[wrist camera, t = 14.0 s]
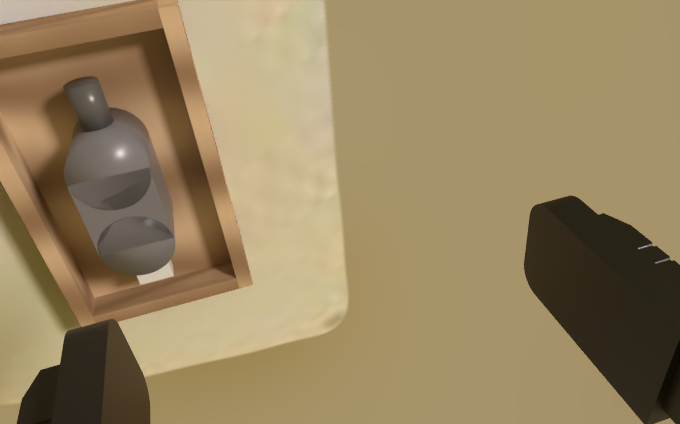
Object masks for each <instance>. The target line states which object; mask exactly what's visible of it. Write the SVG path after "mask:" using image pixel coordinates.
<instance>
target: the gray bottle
mask: <svg viewBox="0 0 680 424" xmlns="http://www.w3.org/2000/svg"><path fill="white" fill-rule="evenodd" d="M63 89H64V91H65V93H66V96H67V98H68V100H69V103H70V105H71V108H72V110H73V112H74V115H75V117H76V120H77V123H76V125H75V127H74V130H73V134H72V138H71V143H70V147H69V151H68V155H67V159H66V163H65V168H64V179H65V183H66V185H67V188H68V190H69V192H70V194H71V196H72V198H73V200H74V203H75V205H76V207H77V209H78V211H79V213H80V215H81V218H82V220H83V222H84V224H85V226H86V228H87V230H88V233H89V235H90V237H91V239H92V241H93V243H94V246H95V248H96V250H97V252H98V254H99V256H100V258H101V260H102V261H103V262H104V263H105V264H106V265H107V266H108V267H109V268H111V269H112V270H114V271H116V272H119V273H122V274H126V275H136V276H137V278H138V280H139V283H140V285H142V284H146V283H149V282H153V281H157V280H161V279H165V278H169V277H173V276H174V272H173V264H172V262H171V258H172V257H173V254H174V252H175V232H174V219H173V205H172V200H171V197H170V194H169V191H168V188H167V185H166V182H165V179H164V176H163V173H162V170H161V167H160V165H159V162H158V159H157V156H156V153H155V150H154V147H153V144H152V141H151V138H150V135H149V132H148V130H147V128H146V126H145V125H144V124H143V122H142V121H141V120H140V119H139V118H138V117H136V116H135V115H133V114H132V113H130V112H128V111H126V110H123V109H119V108H112V107H109V106H108V103H107V101H106V98H105V95H104V93H103V90H102V87H101V85H100V82H99V79H98V78H97V77H94V76H87V77H81V78H77V79H74V80H72V81H69V82H68V83H66V84H65V85H64V86H63Z"/></svg>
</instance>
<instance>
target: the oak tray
mask: <svg viewBox="0 0 680 424" xmlns="http://www.w3.org/2000/svg"><path fill="white" fill-rule="evenodd" d="M87 76H94V77H97V78H98V79H99V82H100V85H101V87H102V90H103V93H104V95H105V98H106V101H107V103H108V106H109V107H112V108H119V109H123V110H126V111H128V112H130V113H132V114H133V115H135V116H136V117H138V118H139V119H140V120H141V121H142V122H143V124H144V125H145V126H146V128H147V130H148V132H149V135H150V138H151V141H152V144H153V147H154V150H155V153H156V156H157V159H158V162H159V165H160V167H161V170H162V173H163V176H164V179H165V182H166V185H167V188H168V191H169V194H170V197H171V200H172V205H173V219H174V232H175V252H174V254H173V257H172V258H171V262H172V264H173V272H174V276H173V277H169V278H165V279H161V280H157V281H153V282H149V283H146V284H142V285H140V283H139V280H138V278H137V276H136V275H126V274H122V273H119V272H116V271H114V270H112V269H111V268H109V267H108V266H107V265H106V264H105V263H104V262H103V261H102V260H101V258H100V256H99V254H98V252H97V250H96V248H95V246H94V243H93V241H92V239H91V237H90V235H89V233H88V230H87V228H86V226H85V224H84V222H83V220H82V218H81V215H80V213H79V211H78V209H77V207H76V205H75V203H74V200H73V198H72V196H71V194H70V192H69V190H68V188H67V185H66V183H65V179H64V168H65V163H66V159H67V155H68V151H69V147H70V143H71V138H72V134H73V130H74V127H75V125H76V123H77V120H76V117H75V115H74V112H73V110H72V108H71V105H70V103H69V100H68V98H67V96H66V93H65V91H64V89H63V86H64V85H65V84H66V83H68V82H69V81H72V80H74V79H77V78H81V77H87ZM0 181H1V183H2V185H3V187H4V188H5V190H6V192H7V194H8V196H9V198H10V199H11V201H12V203H13V205H14V207H15V208H16V210H17V212H18V214H19V216H20V217H21V219H22V221H23V223H24V225H25V226H26V228H27V230H28V232H29V234H30V235H31V237H32V239H33V241H34V243H35V244H36V246H37V248H38V250H39V252H40V253H41V255H42V257H43V259H44V261H45V262H46V264H47V266H48V268H49V270H50V272H51V273H52V275H53V277H54V279H55V281H56V282H57V284H58V286H59V288H60V290H61V291H62V293H63V295H64V297H65V299H66V300H67V302H68V304H69V306H70V308H71V309H72V311H73V313H74V315H75V317H76V318H77V320H78V322H79V324H80V326H81V327H83V326H87V325H91V324H94V323H98V322H102V321H105V320H109V319H115V320H116V321H117V322H118V321H122V320H126V319H129V318H133V317H137V316H140V315H144V314H148V313H151V312H155V311H159V310H162V309H166V308H170V307H173V306H177V305H180V304H184V303H188V302H191V301H195V300H199V299H202V298H206V297H210V296H213V295H217V294H221V293H224V292H228V291H232V290H235V289H239V288H243V287H246V286H250V285H253V283H252V279H251V275H250V270H249V266H248V262H247V258H246V255H245V251H244V247H243V244H242V240H241V236H240V232H239V229H238V225H237V221H236V218H235V214H234V210H233V206H232V203H231V199H230V195H229V192H228V188H227V184H226V180H225V177H224V173H223V169H222V166H221V162H220V158H219V154H218V151H217V147H216V143H215V140H214V136H213V132H212V128H211V125H210V121H209V117H208V114H207V110H206V106H205V102H204V99H203V95H202V91H201V88H200V84H199V80H198V76H197V73H196V69H195V65H194V62H193V58H192V54H191V50H190V47H189V43H188V39H187V36H186V32H185V28H184V24H183V21H182V17H181V13H180V10H179V6H178V2H177V0H136V1H131V2H125V3H120V4H114V5H108V6H103V7H97V8H92V9H86V10H81V11H75V12H69V13H64V14H58V15H53V16H47V17H42V18H36V19H30V20H25V21H19V22H14V23H8V24H3V25H0Z"/></svg>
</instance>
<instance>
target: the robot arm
mask: <svg viewBox="0 0 680 424" xmlns="http://www.w3.org/2000/svg"><path fill="white" fill-rule="evenodd" d="M524 270H525V275H526V278H527V281H528V284H529V286H530V288H531V289H532V291H533V292H534V294H535V295H536V296H537V297H538V299H539V300H540V301H541V302H542V303H543V305H544V306H545V307H546V308H547V309H548V310H549V312H550V313H551V314H552V315H553V316H554V317H555V319H556V320H557V321H558V322H559V324H560V325H561V326H562V327H563V328H564V329H565V331H566V332H567V333H568V334H569V335H570V337H571V338H572V339H573V340H574V341H575V342H576V344H577V345H578V346H579V347H580V348H581V350H582V351H583V352H584V353H585V354H586V355H587V357H588V358H589V359H590V360H591V361H592V363H593V364H594V365H595V366H596V367H597V368H598V370H599V371H600V372H601V373H602V374H603V376H605V378H606V379H607V381H608V382H609V383H610V384H611V385H612V386H613V387H614V389H615V390H616V391H617V392H618V394H619V395H620V396H621V397H622V398H623V399H624V401H626V403H627V404H628V405H629V407H630V408H631V409H632V410H633V411H634V412H635V414H636V415H637V416H638V417H639V418H640V420H641V421H642V422H643V423H644V424H654V423H657V422H660V421H662V420H665V419H668V418H671V419H672V420H673V421H674V422H675V423H676V424H680V265H679V264H678V263H677V262H676V261H671V260H670V258H669V256H668V255H667V254H666V253H664V252H663V251H662V250H661V249H659V248H658V247H657V246H655V247H654V246H653V245H652V242H651V241H650V240H648V239H647V238H645V236H643V235H642V234H641V233H640V232H639V231H637V230H636V229H635V228H633V227H632V226H631V225H629V224H627V223H624V222H622V221H619V220H618V219H615V218H613V217H611V216H608V215H606V214H604V213H603V214H600V215H598V214H597V213H595V212H594V211H593V210H592V209H591V208H589V207H588V206H587V205H586V204H585V203H584V202H582V201H581V200H580V199H579V198H577V197H575V196H567V197H563V198H559V199H556V200H552V201H548V202H545V203H541V204H537V205H535V206H534V207H533V208H532V210H531V213H530V219H529V227H528V235H527V243H526V252H525V261H524ZM17 424H150V401H149V395H148V389H147V385H146V382H145V378H144V375H143V373H142V371H141V369H140V367H139V365H138V363H137V361H136V359H135V357H134V355H133V352H132V350H131V348H130V346H129V344H128V342H127V340H126V338H125V336H124V334H123V332H122V330H121V328H120V326H119V324H118V323H117V321H116V320H115V319H109V320H105V321H102V322H98V323H94V324H91V325H87V326H83V327H79V328H76V329H72V330H69V331H67V333H66V335H65V338H64V344H63V350H62V356H61V362H60V365H57V366H53V367H50V368H46V369H43V370H40V372H39V373H38V375H37V377H36V378H35V380H34V381H33V383H32V384H31V386H30V388H29V389H28V391H27V392H26V394H25V395H24V397H23V398H22V402H21V407H20V411H19V416H18V420H17Z"/></svg>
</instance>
